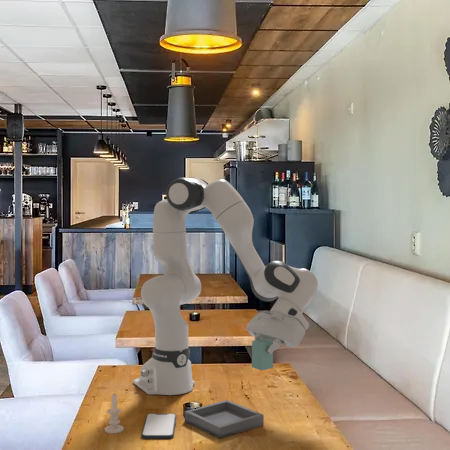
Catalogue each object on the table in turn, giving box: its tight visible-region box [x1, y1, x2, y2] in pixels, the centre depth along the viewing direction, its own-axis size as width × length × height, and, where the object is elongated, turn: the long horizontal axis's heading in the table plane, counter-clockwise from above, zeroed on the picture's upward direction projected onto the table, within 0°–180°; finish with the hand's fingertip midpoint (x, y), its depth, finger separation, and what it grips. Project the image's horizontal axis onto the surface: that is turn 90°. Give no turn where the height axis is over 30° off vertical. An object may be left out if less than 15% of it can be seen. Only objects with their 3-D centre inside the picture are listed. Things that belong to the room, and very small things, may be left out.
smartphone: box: [140, 413, 177, 440], centre depth 168 cm, size 9×2×16 cm
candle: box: [104, 393, 125, 434], centre depth 166 cm, size 5×5×10 cm
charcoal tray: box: [184, 399, 265, 440], centre depth 172 cm, size 16×16×3 cm
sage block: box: [251, 339, 274, 371], centre depth 181 cm, size 4×4×8 cm
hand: (261, 350), depth 180 cm, fingers closed on sage block, 4 cm apart
